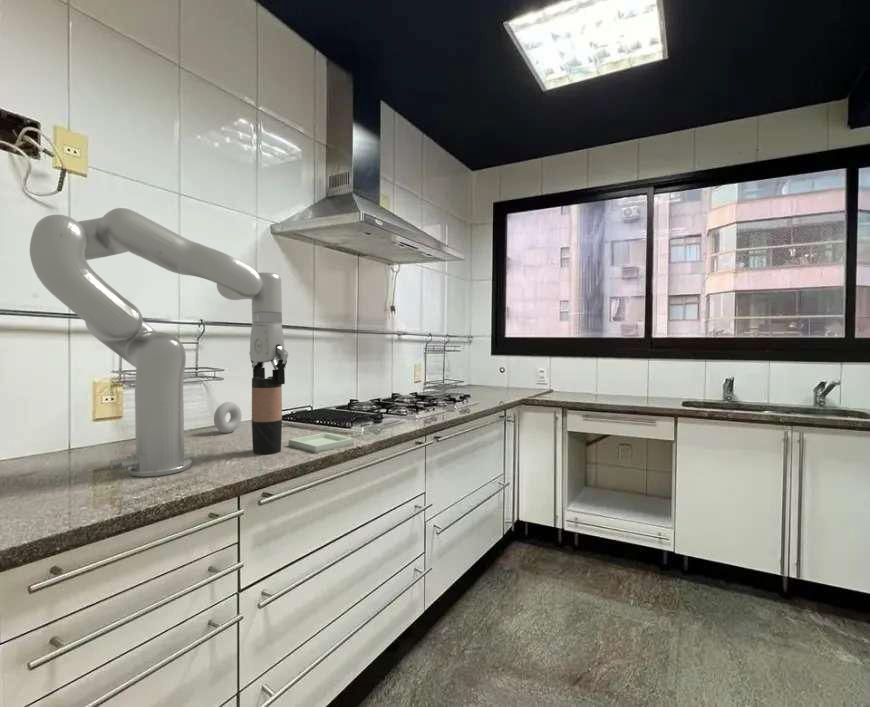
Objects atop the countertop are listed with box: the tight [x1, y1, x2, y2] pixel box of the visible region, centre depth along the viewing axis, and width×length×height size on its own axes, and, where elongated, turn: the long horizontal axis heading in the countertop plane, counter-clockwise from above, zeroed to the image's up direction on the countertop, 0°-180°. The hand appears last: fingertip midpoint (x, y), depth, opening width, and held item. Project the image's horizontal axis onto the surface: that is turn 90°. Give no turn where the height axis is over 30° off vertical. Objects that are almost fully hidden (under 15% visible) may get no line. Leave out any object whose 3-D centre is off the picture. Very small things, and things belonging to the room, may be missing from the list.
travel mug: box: [251, 376, 283, 456], centre depth 122 cm, size 8×8×20 cm
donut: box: [213, 401, 242, 434], centre depth 146 cm, size 10×4×10 cm, turn 158°
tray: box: [288, 432, 355, 454], centre depth 130 cm, size 13×13×2 cm
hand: (268, 383), depth 122 cm, fingers open, 9 cm apart
